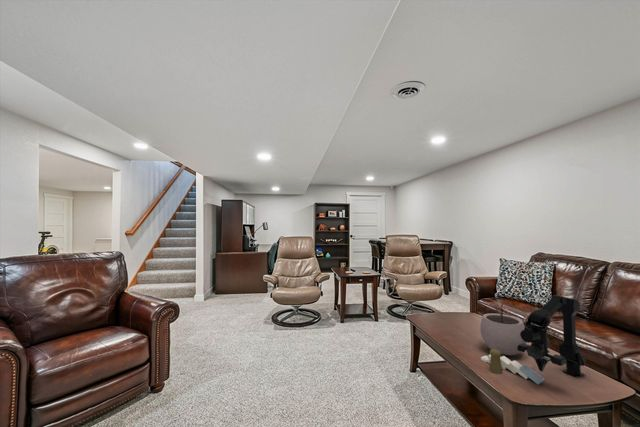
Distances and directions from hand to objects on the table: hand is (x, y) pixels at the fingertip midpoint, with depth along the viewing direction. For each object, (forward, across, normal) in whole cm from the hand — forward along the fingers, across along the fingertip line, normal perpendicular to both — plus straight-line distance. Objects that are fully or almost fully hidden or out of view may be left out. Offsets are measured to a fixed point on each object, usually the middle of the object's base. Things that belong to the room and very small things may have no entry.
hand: (541, 371), depth 136 cm
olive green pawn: (+6, -18, -8) cm, 20 cm away
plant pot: (+6, -28, +18) cm, 34 cm away
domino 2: (+5, -16, 0) cm, 17 cm away
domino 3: (+5, -11, 0) cm, 12 cm away
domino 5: (+5, 0, 0) cm, 5 cm away
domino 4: (+5, -5, 0) cm, 7 cm away
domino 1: (+6, -20, 0) cm, 21 cm away
